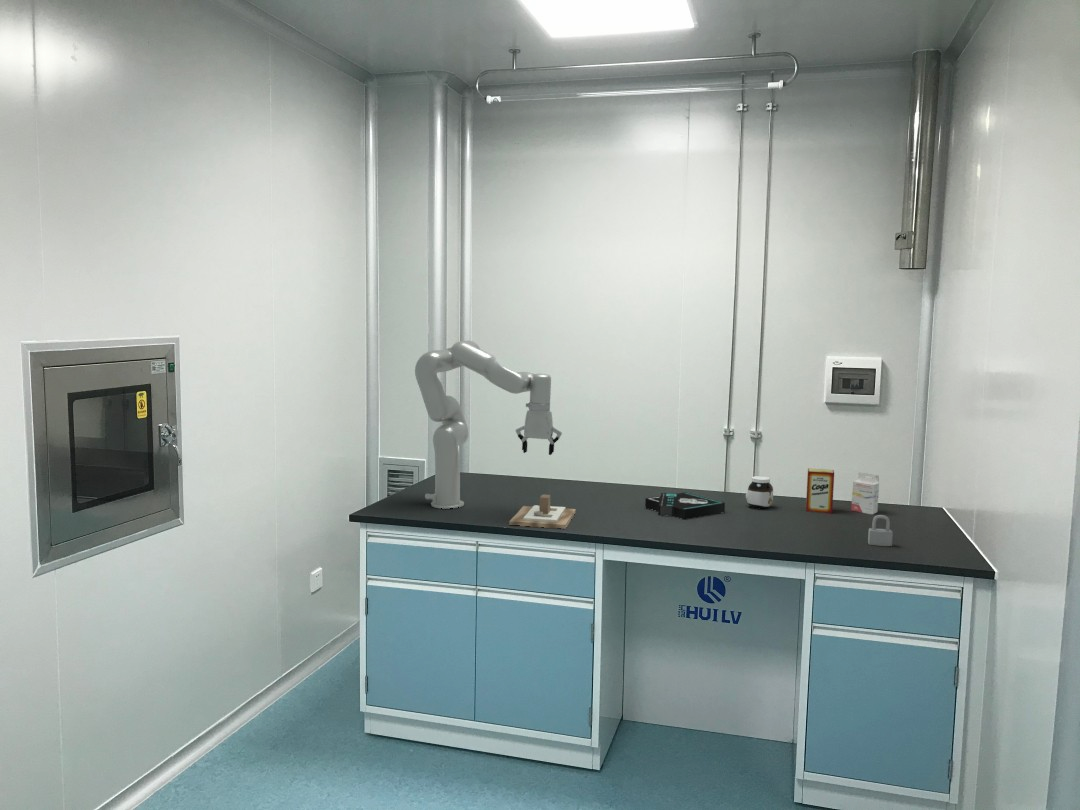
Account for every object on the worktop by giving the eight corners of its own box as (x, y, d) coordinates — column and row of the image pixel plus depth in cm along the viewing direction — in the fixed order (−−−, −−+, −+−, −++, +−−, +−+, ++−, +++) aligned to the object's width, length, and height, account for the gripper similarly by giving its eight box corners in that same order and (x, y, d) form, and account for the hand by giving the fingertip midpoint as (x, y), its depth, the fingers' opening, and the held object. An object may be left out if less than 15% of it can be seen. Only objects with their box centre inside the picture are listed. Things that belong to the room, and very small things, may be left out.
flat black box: (642, 518, 306) (725, 523, 300) (642, 507, 306) (726, 512, 300) (647, 500, 335) (723, 504, 330) (647, 490, 335) (723, 494, 329)
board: (509, 525, 291) (509, 515, 290) (523, 509, 314) (523, 500, 314) (565, 529, 287) (565, 518, 287) (575, 512, 311) (575, 503, 310)
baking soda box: (806, 511, 318) (808, 470, 317) (805, 507, 325) (807, 467, 323) (832, 513, 316) (834, 472, 314) (831, 509, 322) (833, 468, 320)
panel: (523, 520, 292) (523, 501, 291) (534, 507, 311) (534, 489, 311) (556, 522, 290) (556, 503, 289) (565, 509, 309) (565, 491, 308)
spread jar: (760, 510, 318) (762, 481, 317) (736, 505, 327) (737, 476, 325) (778, 506, 326) (779, 477, 325) (753, 501, 334) (755, 472, 333)
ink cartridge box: (850, 510, 320) (852, 473, 318) (855, 508, 324) (857, 471, 322) (872, 514, 314) (875, 476, 313) (877, 512, 318) (880, 474, 316)
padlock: (869, 545, 272) (870, 515, 271) (867, 542, 276) (869, 512, 275) (892, 547, 270) (894, 517, 269) (890, 544, 274) (892, 514, 273)
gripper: (514, 407, 303) (512, 453, 305) (560, 410, 299) (558, 456, 301) (519, 404, 310) (517, 449, 312) (564, 407, 306) (562, 453, 308)
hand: (537, 453), depth 306 cm, fingers open, 9 cm apart
